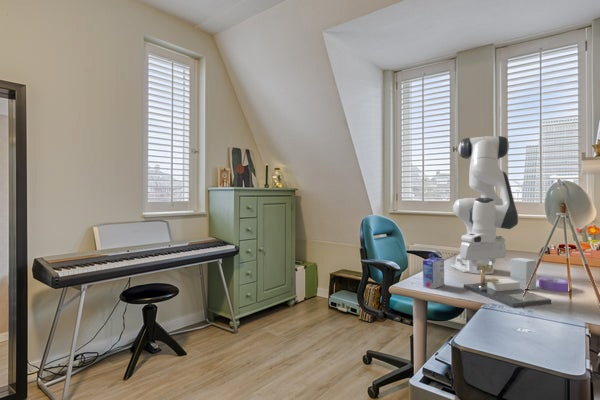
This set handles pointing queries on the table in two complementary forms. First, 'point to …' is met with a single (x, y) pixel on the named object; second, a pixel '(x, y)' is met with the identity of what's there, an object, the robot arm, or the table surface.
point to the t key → (487, 269)
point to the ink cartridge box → (433, 272)
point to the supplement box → (523, 272)
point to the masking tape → (553, 284)
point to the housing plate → (509, 296)
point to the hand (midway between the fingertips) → (483, 269)
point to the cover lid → (504, 285)
